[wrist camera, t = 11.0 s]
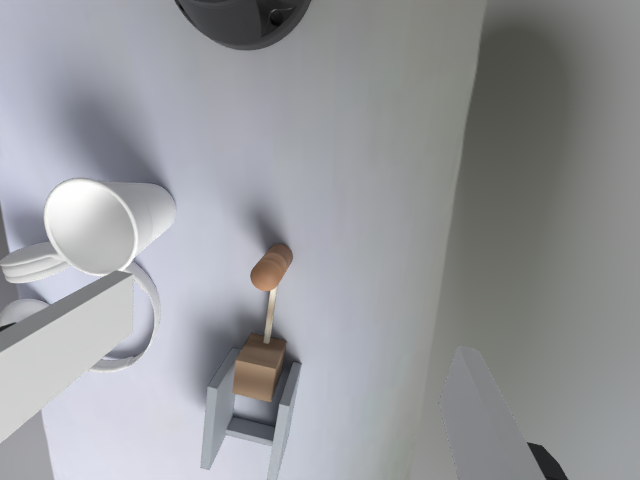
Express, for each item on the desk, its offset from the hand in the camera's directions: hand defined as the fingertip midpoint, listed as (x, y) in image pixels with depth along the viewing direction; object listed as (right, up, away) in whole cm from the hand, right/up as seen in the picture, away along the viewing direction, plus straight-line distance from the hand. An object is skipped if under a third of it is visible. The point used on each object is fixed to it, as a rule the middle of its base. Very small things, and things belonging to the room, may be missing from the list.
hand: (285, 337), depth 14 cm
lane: (-7, -18, +37) cm, 42 cm away
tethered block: (-5, -5, +32) cm, 33 cm away
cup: (-20, +8, +31) cm, 37 cm away
